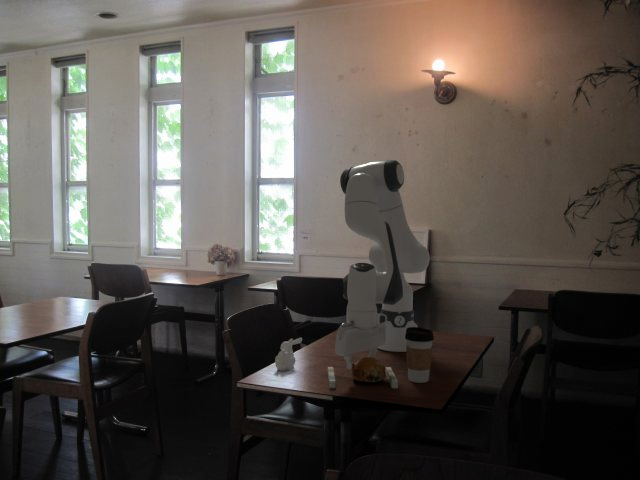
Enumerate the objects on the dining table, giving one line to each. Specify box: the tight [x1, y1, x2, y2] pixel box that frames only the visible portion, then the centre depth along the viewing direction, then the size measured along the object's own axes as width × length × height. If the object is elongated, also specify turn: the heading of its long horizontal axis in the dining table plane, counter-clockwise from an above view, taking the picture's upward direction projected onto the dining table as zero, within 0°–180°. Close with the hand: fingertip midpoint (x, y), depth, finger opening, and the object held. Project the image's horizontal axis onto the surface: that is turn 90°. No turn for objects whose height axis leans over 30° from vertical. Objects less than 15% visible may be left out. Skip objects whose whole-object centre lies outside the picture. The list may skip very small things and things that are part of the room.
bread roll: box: [351, 356, 386, 383], centre depth 168 cm, size 10×10×8 cm
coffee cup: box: [405, 326, 435, 384], centre depth 169 cm, size 8×8×15 cm
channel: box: [327, 366, 399, 389], centre depth 168 cm, size 14×19×2 cm
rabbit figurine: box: [274, 337, 303, 372], centre depth 180 cm, size 12×8×10 cm, turn 168°
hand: (360, 365), depth 170 cm, fingers open, 8 cm apart
